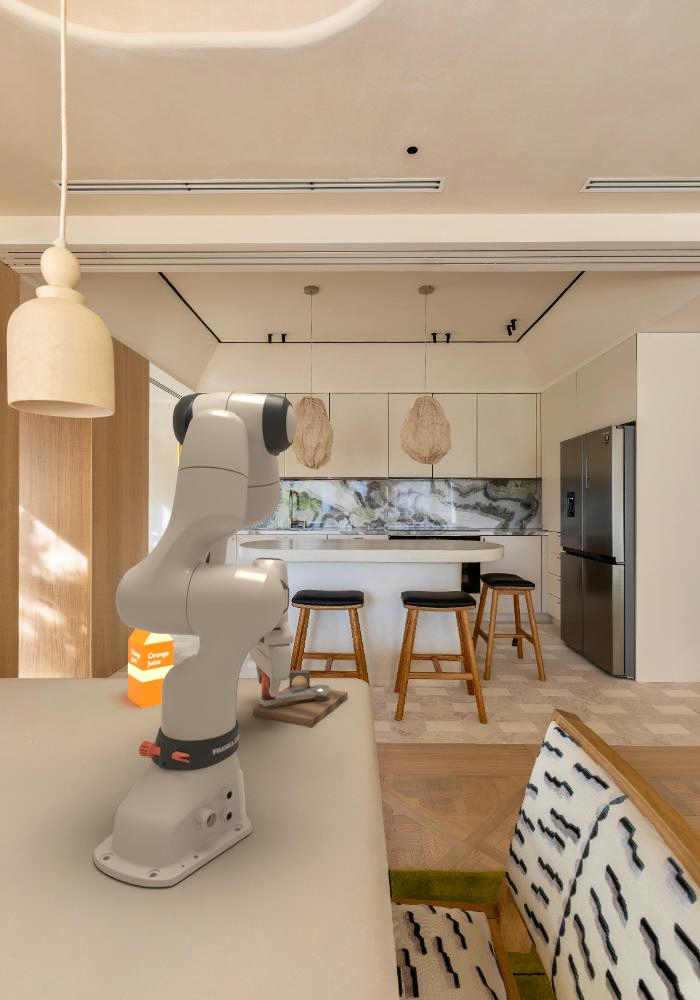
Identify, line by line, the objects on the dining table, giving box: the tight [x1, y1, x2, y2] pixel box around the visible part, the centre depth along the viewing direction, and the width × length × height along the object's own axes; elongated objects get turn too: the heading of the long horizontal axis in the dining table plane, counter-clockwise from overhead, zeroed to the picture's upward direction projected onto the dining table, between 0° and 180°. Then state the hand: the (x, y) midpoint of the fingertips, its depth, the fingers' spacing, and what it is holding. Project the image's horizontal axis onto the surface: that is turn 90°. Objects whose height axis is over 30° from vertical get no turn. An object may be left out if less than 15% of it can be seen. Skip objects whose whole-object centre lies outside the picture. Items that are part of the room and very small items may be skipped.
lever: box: [259, 671, 331, 706], centre depth 130 cm, size 17×5×8 cm, turn 118°
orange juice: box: [127, 628, 175, 709], centre depth 135 cm, size 8×9×20 cm
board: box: [252, 669, 349, 728], centre depth 132 cm, size 19×15×6 cm
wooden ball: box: [291, 676, 308, 690], centre depth 138 cm, size 4×4×4 cm
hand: (267, 689), depth 127 cm, fingers open, 8 cm apart
